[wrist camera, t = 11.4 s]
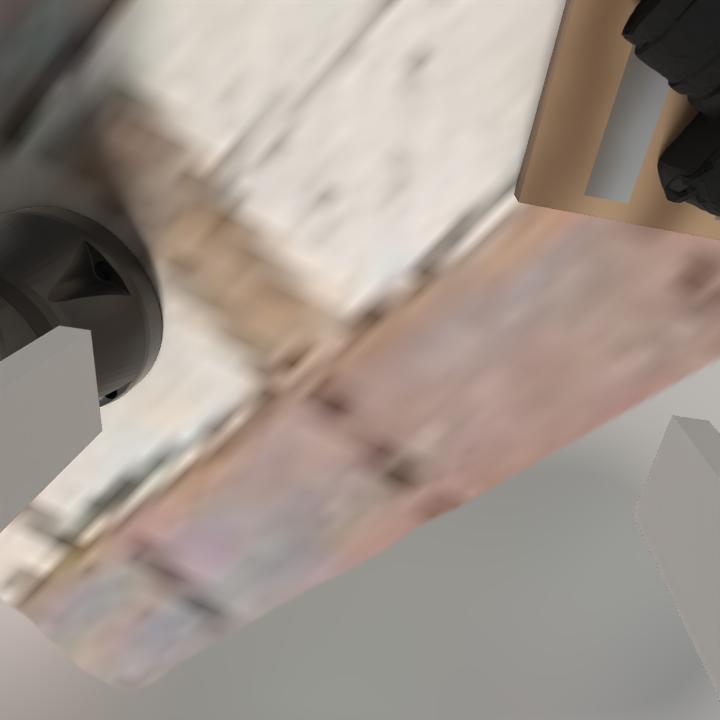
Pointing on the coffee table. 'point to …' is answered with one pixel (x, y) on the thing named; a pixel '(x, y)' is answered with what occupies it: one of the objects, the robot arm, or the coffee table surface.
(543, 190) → the wooden pallet
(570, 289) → the coffee table surface
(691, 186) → the film camera
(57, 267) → the robot arm
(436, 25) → the coffee table surface
